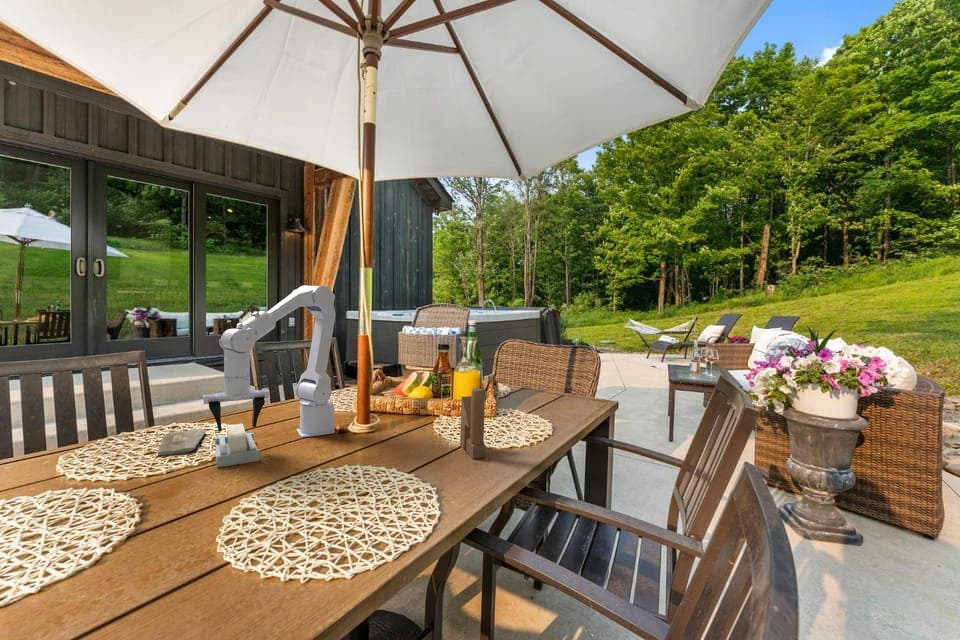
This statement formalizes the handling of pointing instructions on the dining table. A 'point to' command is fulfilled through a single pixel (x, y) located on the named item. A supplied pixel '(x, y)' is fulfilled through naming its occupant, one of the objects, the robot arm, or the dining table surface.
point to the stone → (180, 442)
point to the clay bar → (236, 438)
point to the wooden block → (473, 423)
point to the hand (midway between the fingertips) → (237, 428)
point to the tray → (235, 458)
